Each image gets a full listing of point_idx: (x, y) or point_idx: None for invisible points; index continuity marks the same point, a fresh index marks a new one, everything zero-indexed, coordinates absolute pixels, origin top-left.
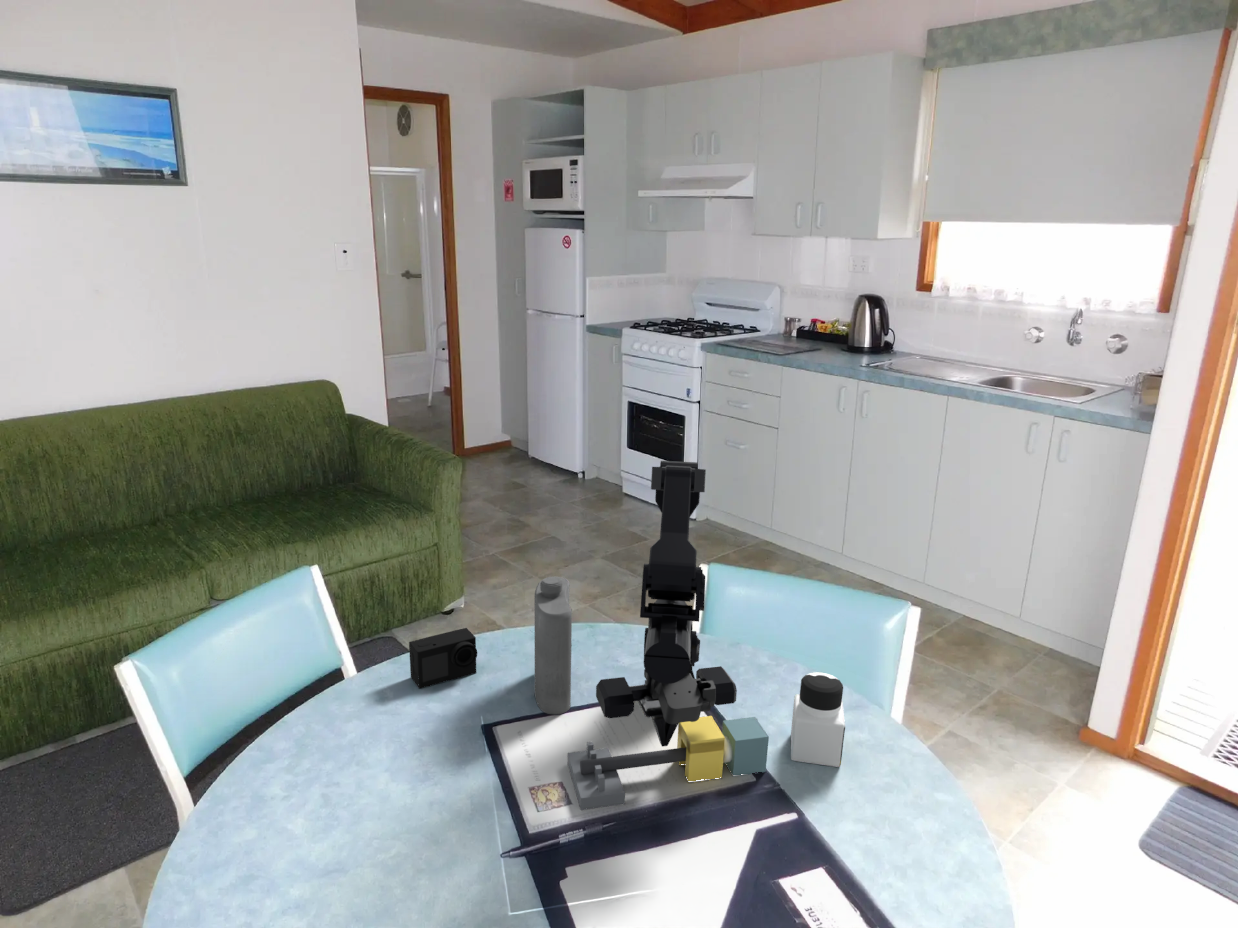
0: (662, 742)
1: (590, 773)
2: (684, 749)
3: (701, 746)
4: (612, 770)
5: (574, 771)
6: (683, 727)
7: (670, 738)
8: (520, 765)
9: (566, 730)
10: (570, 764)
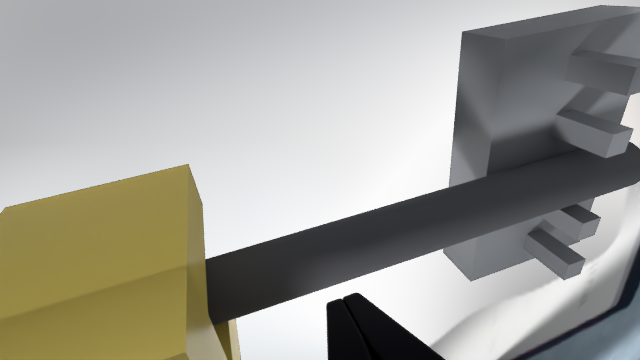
0: (373, 310)
1: None
2: (213, 311)
3: (83, 334)
4: None
5: None
6: None
7: (332, 347)
8: (632, 202)
9: (498, 328)
10: None
